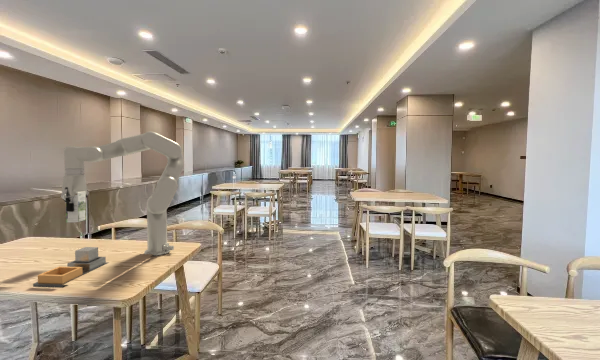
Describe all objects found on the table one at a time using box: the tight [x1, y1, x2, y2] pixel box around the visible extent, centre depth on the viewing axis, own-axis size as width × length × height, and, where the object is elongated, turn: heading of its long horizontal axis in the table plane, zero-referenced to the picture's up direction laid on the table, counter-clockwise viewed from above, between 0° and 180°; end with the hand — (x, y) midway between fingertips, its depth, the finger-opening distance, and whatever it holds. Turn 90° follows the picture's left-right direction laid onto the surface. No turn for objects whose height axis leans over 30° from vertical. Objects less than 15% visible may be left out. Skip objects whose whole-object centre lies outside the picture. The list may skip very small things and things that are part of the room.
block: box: [74, 246, 99, 263], centre depth 135 cm, size 6×6×8 cm
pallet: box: [32, 256, 110, 288], centre depth 128 cm, size 26×12×4 cm, turn 177°
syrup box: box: [65, 191, 87, 224], centre depth 143 cm, size 6×6×14 cm
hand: (76, 209), depth 143 cm, fingers closed on syrup box, 6 cm apart
